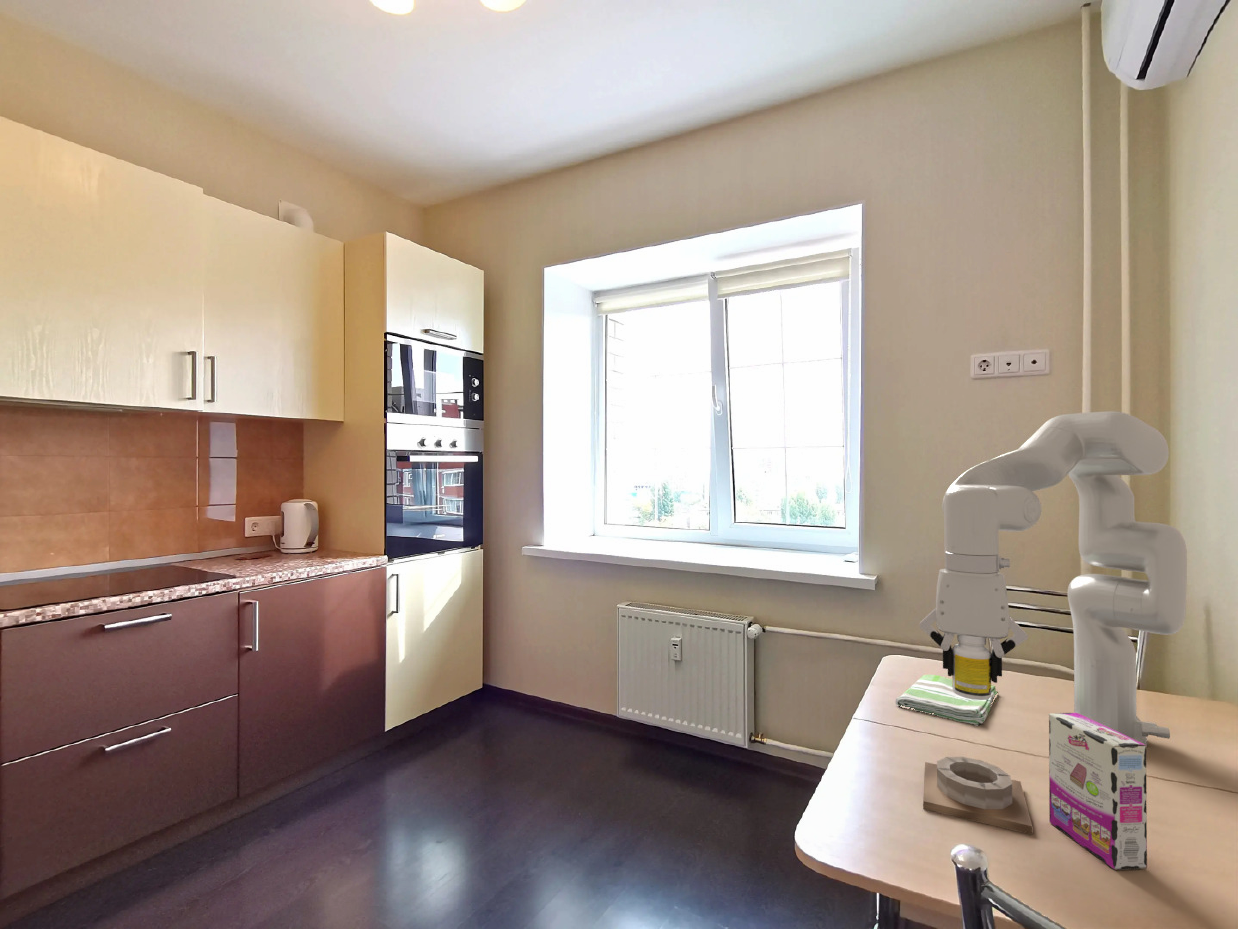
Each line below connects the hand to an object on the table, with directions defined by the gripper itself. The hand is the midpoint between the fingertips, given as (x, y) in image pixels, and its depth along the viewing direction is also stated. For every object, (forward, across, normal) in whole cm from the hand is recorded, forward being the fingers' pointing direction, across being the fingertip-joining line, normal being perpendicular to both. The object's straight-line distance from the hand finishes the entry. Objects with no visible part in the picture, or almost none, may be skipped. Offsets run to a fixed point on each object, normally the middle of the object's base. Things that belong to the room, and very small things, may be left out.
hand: (971, 675), depth 96 cm
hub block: (+19, 0, 0) cm, 19 cm away
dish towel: (+20, +3, -44) cm, 49 cm away
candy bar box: (+20, -15, +6) cm, 25 cm away
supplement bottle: (+3, 0, 0) cm, 3 cm away
